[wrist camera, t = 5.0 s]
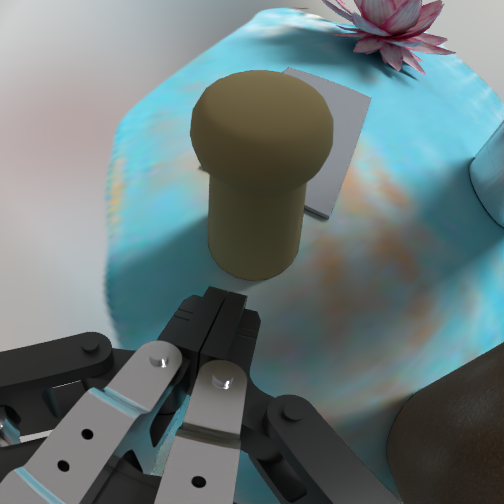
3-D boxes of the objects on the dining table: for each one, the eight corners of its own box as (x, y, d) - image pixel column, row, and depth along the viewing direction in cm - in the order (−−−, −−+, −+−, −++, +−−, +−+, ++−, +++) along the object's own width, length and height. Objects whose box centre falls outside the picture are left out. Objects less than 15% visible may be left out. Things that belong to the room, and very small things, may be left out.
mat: (287, 69, 26) (288, 67, 25) (370, 100, 24) (371, 97, 24) (203, 166, 20) (202, 163, 19) (328, 219, 18) (329, 216, 18)
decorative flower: (288, 26, 33) (297, -47, 19) (377, 31, 36) (393, -24, 22) (375, 91, 25) (412, -12, 11) (455, 92, 29) (488, 30, 15)
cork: (317, 231, 18) (382, 100, 8) (260, 300, 16) (288, 197, 6) (248, 182, 19) (253, 42, 9) (188, 240, 18) (134, 103, 7)
